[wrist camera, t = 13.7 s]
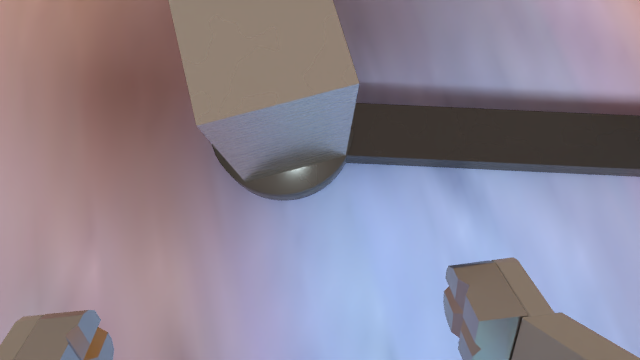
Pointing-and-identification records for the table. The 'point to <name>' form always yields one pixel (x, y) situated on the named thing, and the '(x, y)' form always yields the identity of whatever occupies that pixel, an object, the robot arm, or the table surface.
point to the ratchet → (468, 144)
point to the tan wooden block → (268, 80)
